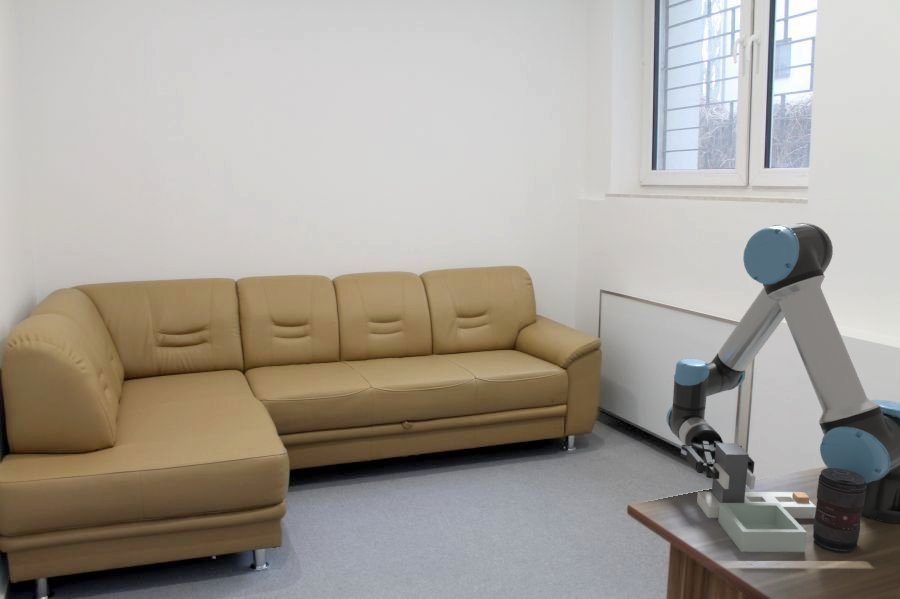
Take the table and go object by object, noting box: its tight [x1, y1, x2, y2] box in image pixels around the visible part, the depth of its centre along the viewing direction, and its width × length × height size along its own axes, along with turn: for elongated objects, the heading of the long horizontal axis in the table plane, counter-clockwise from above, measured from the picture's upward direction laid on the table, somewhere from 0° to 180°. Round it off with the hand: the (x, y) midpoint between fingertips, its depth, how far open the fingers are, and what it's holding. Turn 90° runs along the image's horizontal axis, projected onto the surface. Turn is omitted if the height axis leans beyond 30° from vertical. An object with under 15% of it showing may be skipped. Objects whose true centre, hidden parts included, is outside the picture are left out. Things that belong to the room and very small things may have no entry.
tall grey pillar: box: [711, 442, 750, 503], centre depth 162 cm, size 4×6×13 cm
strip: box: [696, 491, 816, 520], centre depth 164 cm, size 22×7×4 cm, turn 91°
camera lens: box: [812, 467, 867, 554], centre depth 149 cm, size 8×8×15 cm
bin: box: [717, 503, 808, 553], centre depth 153 cm, size 12×12×5 cm
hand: (739, 482), depth 157 cm, fingers closed on tall grey pillar, 4 cm apart
